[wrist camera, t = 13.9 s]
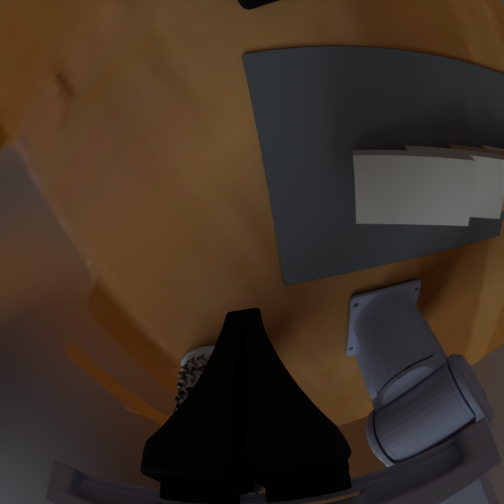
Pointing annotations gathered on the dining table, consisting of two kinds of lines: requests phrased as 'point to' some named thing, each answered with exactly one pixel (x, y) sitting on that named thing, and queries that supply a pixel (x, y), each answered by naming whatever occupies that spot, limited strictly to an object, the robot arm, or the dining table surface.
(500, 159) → the domino
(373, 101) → the mat
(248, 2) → the battery
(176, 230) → the dining table surface
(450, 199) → the domino
